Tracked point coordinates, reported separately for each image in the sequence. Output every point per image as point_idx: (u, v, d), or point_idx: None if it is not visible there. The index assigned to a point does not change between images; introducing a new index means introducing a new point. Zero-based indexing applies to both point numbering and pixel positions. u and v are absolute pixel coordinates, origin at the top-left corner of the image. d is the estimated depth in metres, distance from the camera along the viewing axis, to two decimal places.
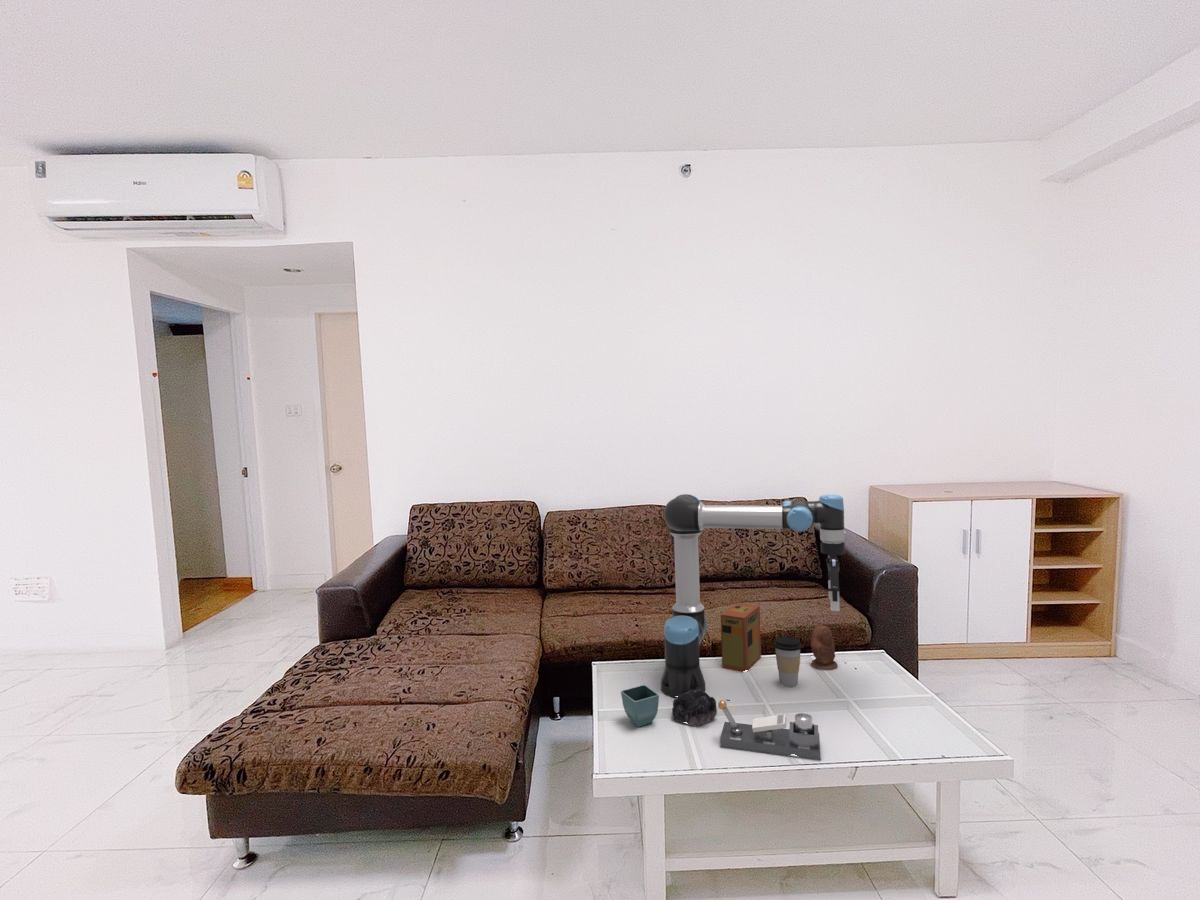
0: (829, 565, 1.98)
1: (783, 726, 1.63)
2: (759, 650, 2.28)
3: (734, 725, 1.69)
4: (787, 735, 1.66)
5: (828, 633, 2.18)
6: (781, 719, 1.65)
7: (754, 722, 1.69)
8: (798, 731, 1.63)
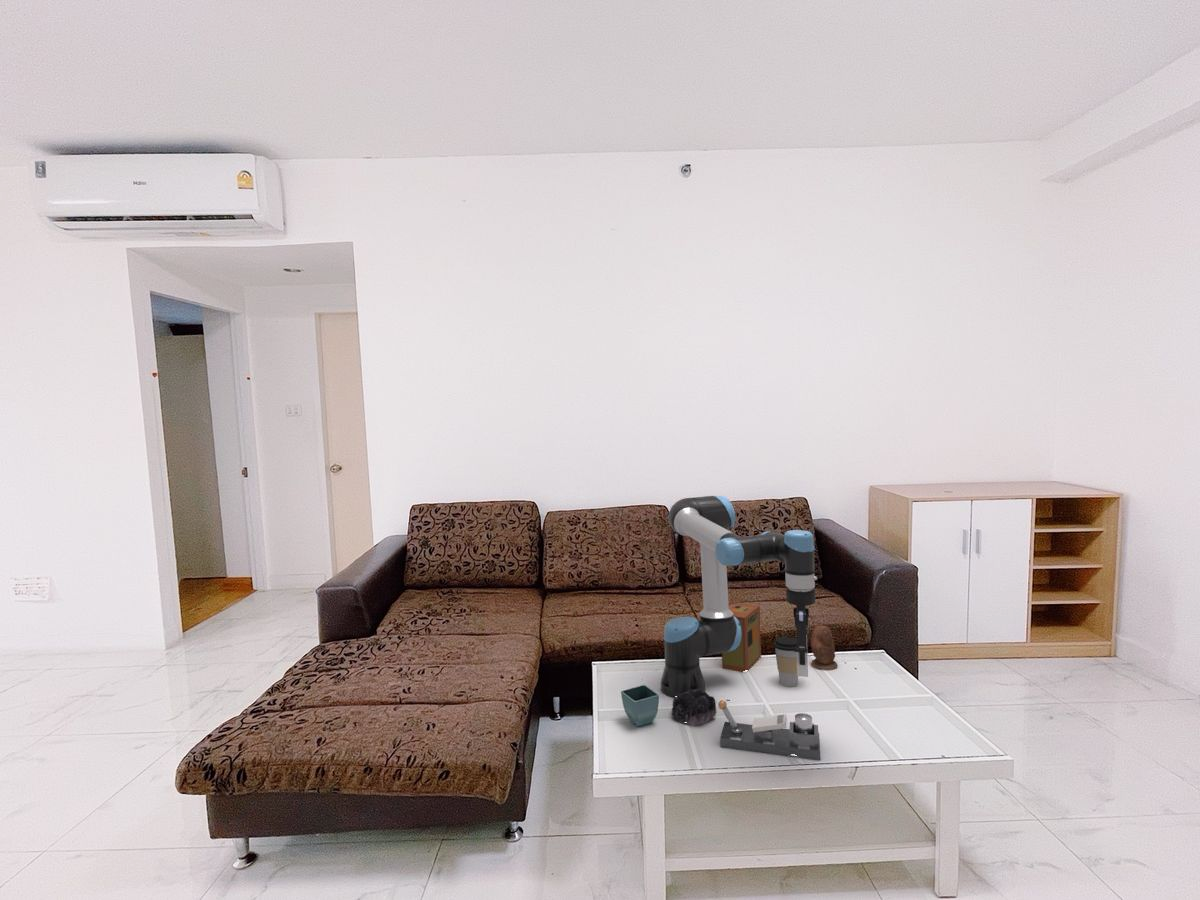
0: (796, 618, 1.61)
1: (783, 726, 1.63)
2: (759, 650, 2.28)
3: (734, 725, 1.69)
4: (787, 735, 1.66)
5: (828, 633, 2.18)
6: (781, 719, 1.65)
7: (754, 722, 1.69)
8: (798, 731, 1.63)
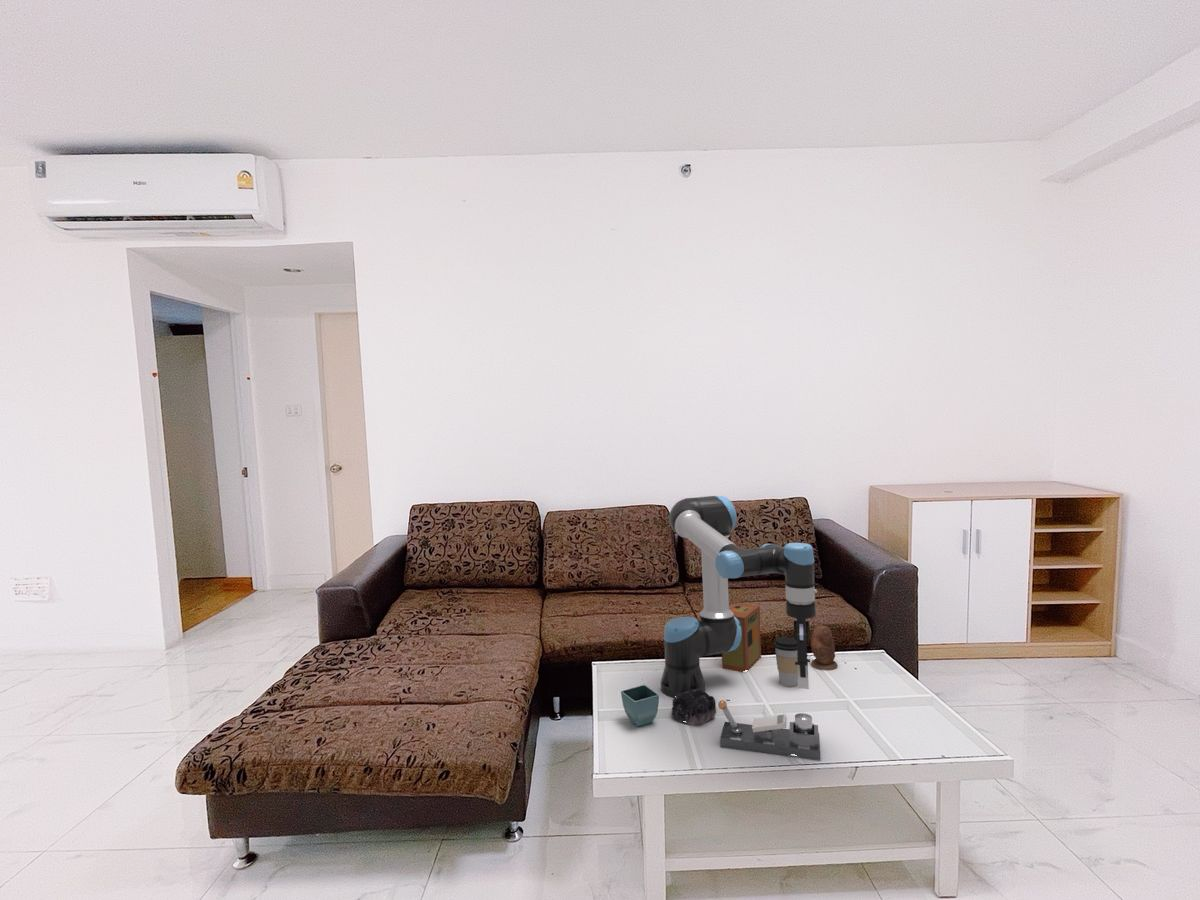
0: (796, 633, 1.62)
1: (783, 726, 1.63)
2: (759, 650, 2.28)
3: (734, 725, 1.69)
4: (787, 735, 1.66)
5: (828, 633, 2.18)
6: (781, 719, 1.65)
7: (754, 722, 1.69)
8: (798, 731, 1.63)
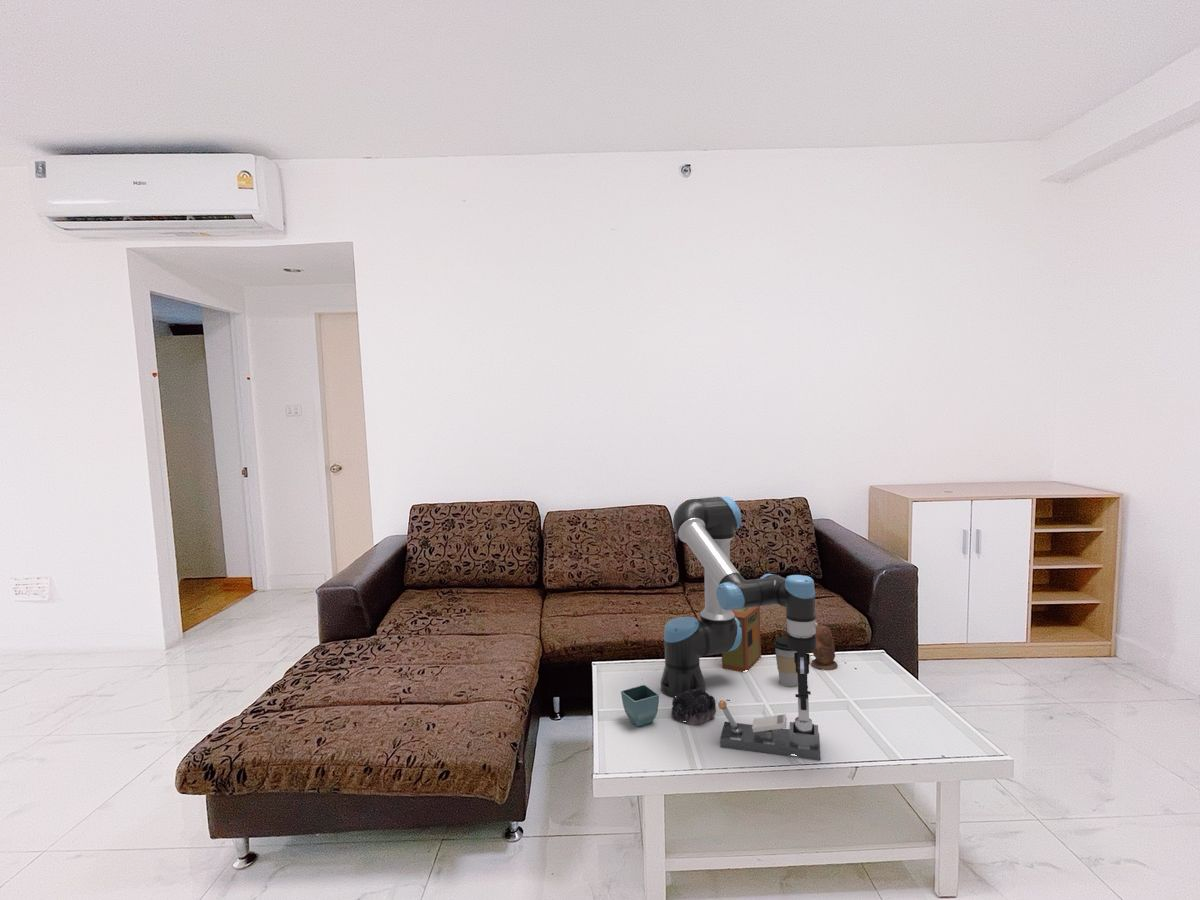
0: (797, 666, 1.62)
1: (783, 726, 1.63)
2: (759, 650, 2.28)
3: (734, 725, 1.69)
4: (787, 735, 1.66)
5: (828, 633, 2.18)
6: (781, 719, 1.65)
7: (754, 722, 1.69)
8: None
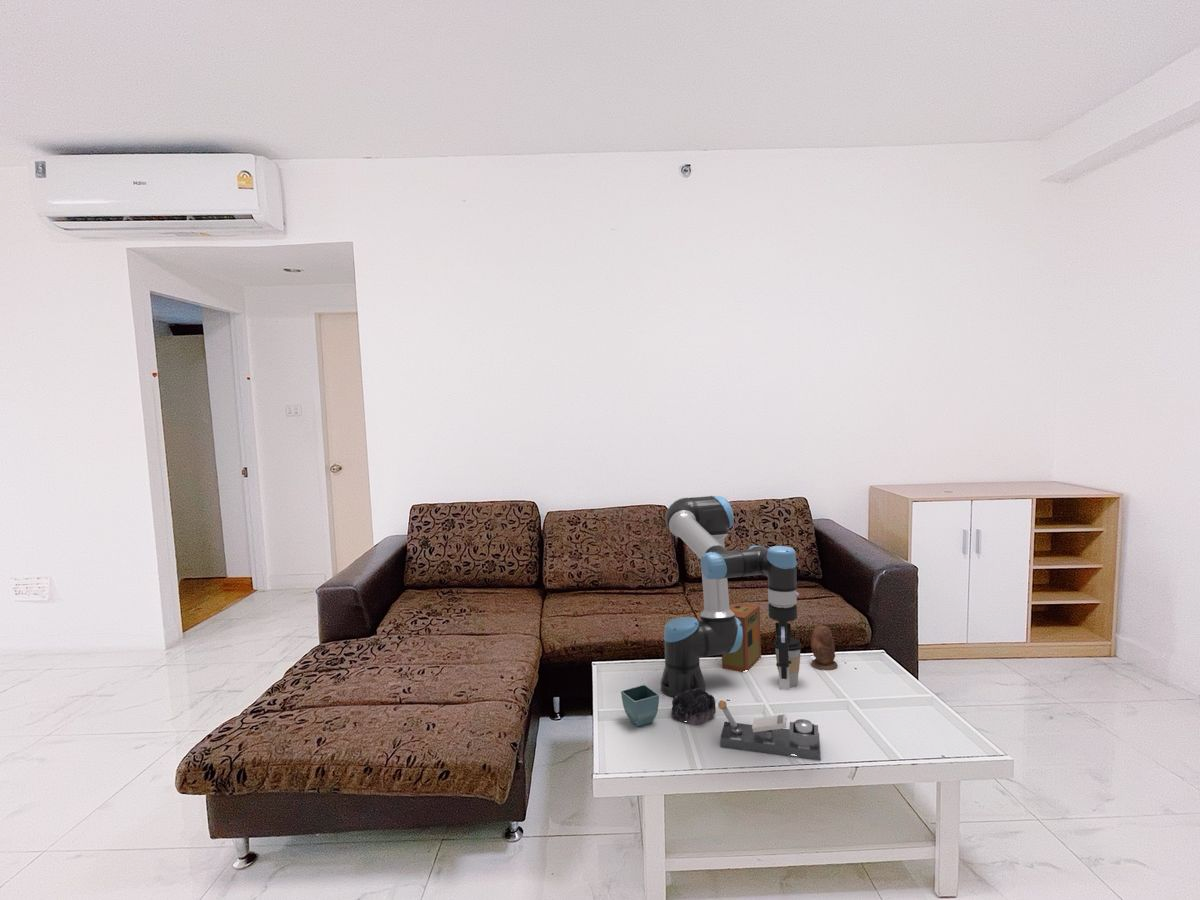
0: None
1: (783, 726, 1.63)
2: (759, 650, 2.28)
3: (734, 725, 1.69)
4: (787, 735, 1.66)
5: (828, 633, 2.18)
6: (781, 719, 1.65)
7: (754, 722, 1.69)
8: None
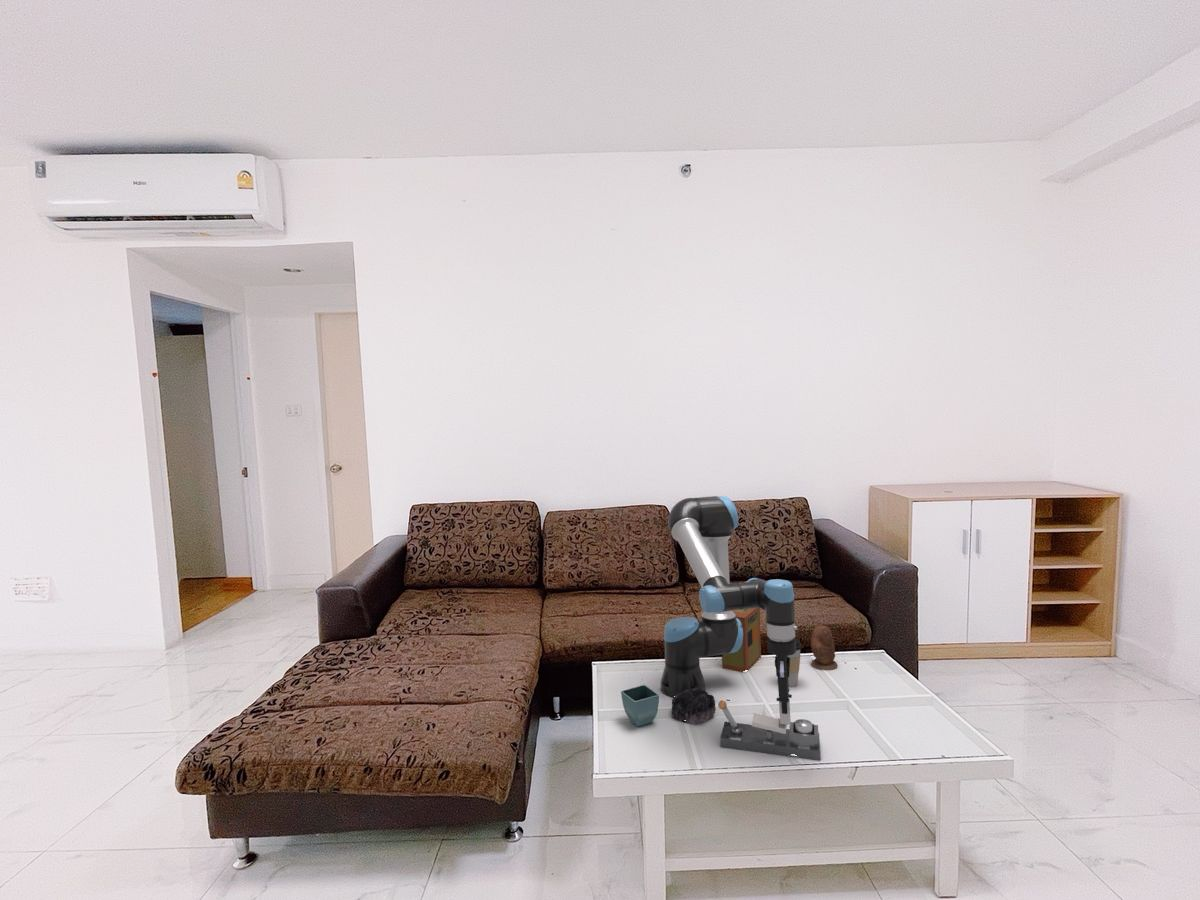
0: (777, 669, 1.63)
1: (783, 731, 1.63)
2: (759, 650, 2.28)
3: (734, 725, 1.69)
4: (787, 735, 1.66)
5: (828, 633, 2.18)
6: (783, 724, 1.65)
7: (754, 716, 1.68)
8: None
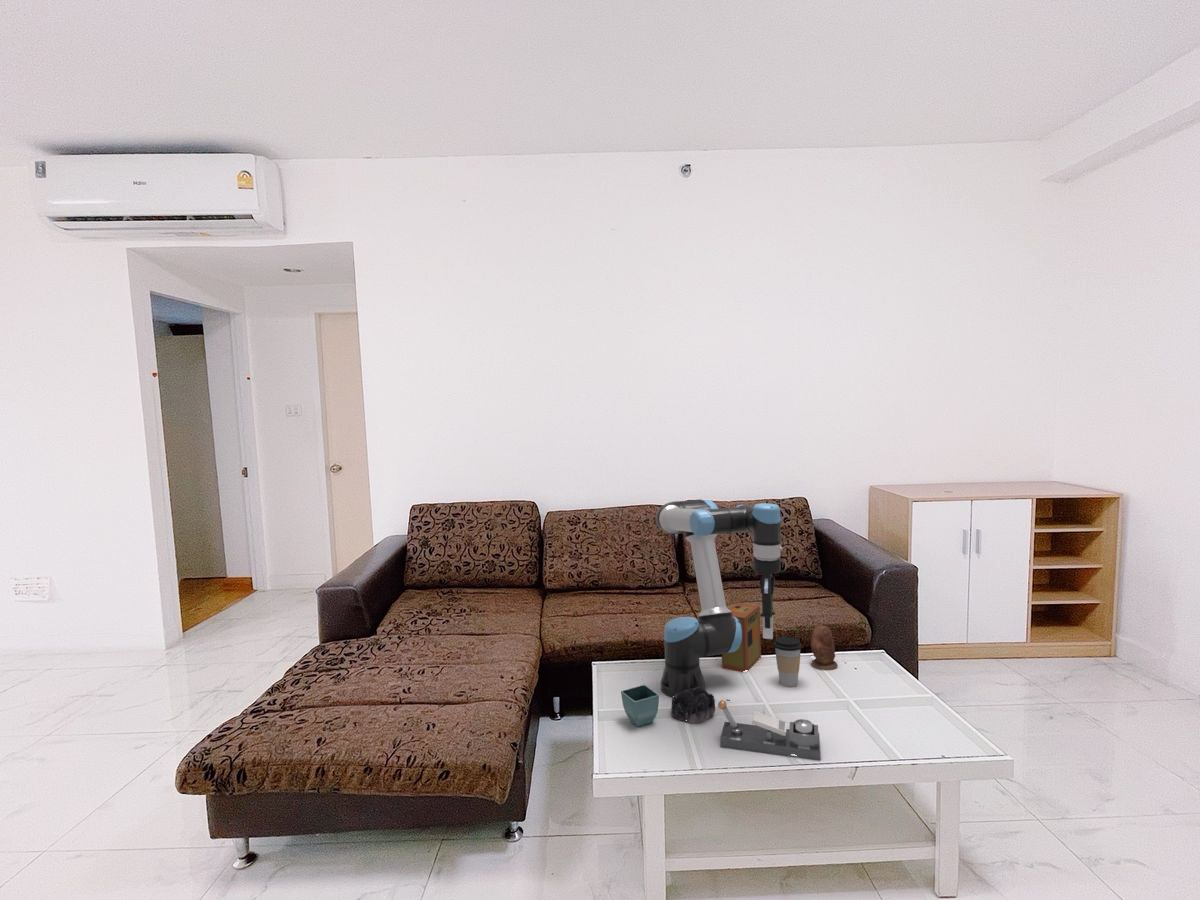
0: (762, 587, 1.72)
1: (783, 733, 1.63)
2: (759, 650, 2.28)
3: (734, 725, 1.69)
4: (787, 735, 1.66)
5: (828, 633, 2.18)
6: (783, 726, 1.65)
7: (755, 714, 1.68)
8: None
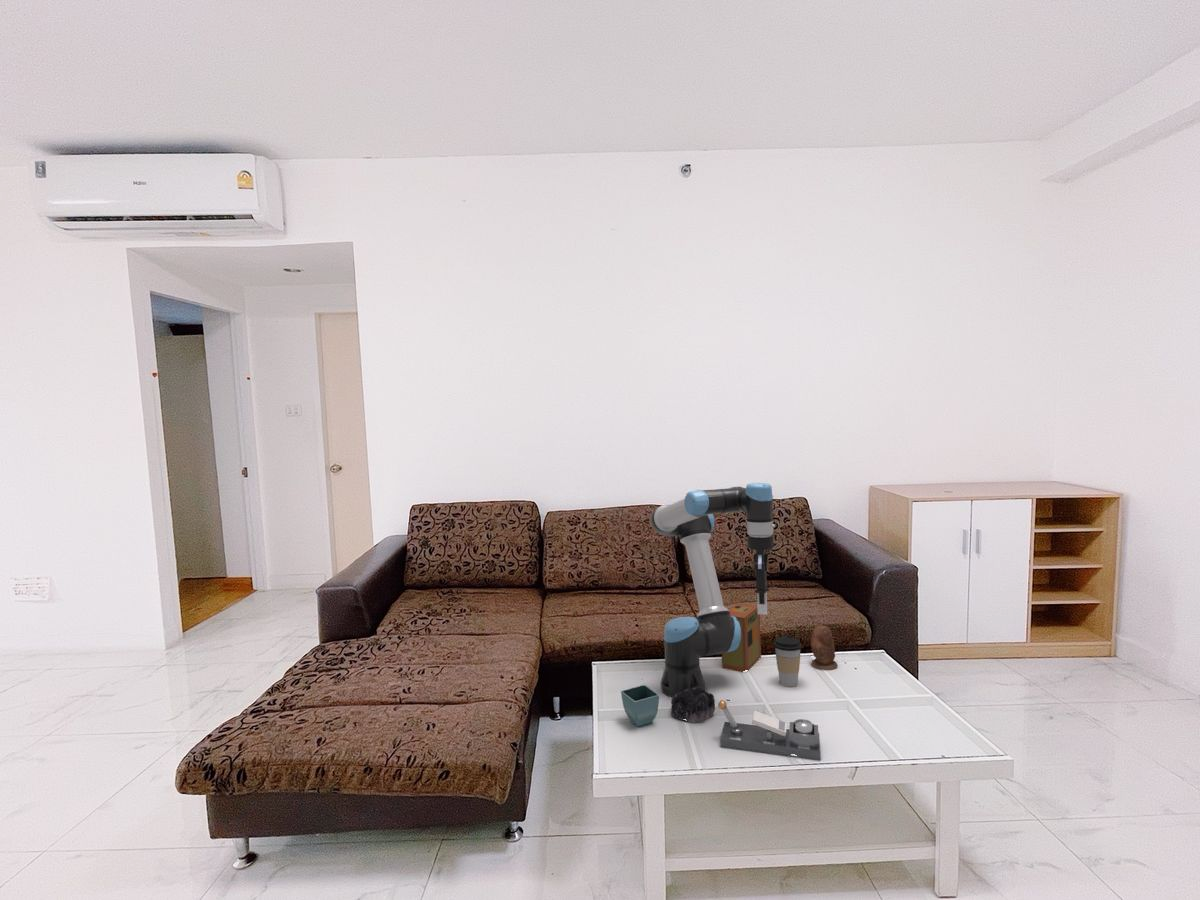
0: None
1: (783, 734, 1.63)
2: (759, 650, 2.28)
3: (734, 725, 1.69)
4: (787, 735, 1.66)
5: (828, 633, 2.18)
6: (783, 726, 1.65)
7: (755, 714, 1.68)
8: None
